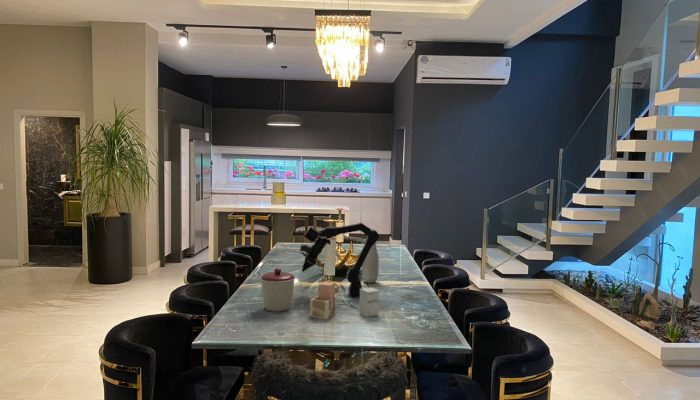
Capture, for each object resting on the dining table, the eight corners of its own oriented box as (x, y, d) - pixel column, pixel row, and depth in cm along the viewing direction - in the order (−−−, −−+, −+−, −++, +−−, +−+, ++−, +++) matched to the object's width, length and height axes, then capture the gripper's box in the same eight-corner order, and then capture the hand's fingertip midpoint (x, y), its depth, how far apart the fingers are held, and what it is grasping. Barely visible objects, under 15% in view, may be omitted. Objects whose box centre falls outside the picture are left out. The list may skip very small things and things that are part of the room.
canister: (293, 302, 266) (293, 263, 264) (297, 313, 248) (297, 271, 247) (259, 304, 262) (259, 265, 260) (260, 315, 244) (260, 273, 243)
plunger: (324, 308, 254) (324, 281, 252) (335, 310, 251) (335, 282, 250) (318, 311, 248) (319, 284, 247) (329, 313, 246) (329, 285, 245)
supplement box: (366, 317, 243) (366, 292, 242) (359, 313, 250) (359, 288, 249) (379, 315, 247) (379, 290, 246) (371, 311, 253) (372, 286, 252)
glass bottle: (371, 279, 318) (372, 236, 316) (381, 283, 310) (381, 238, 307) (358, 281, 313) (359, 237, 310) (368, 285, 304) (368, 239, 302)
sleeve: (317, 312, 251) (317, 295, 250) (334, 314, 247) (334, 297, 246) (310, 316, 244) (310, 299, 243) (327, 319, 240) (327, 301, 239)
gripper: (307, 235, 287) (291, 258, 288) (305, 241, 269) (289, 265, 269) (323, 246, 288) (307, 268, 289) (322, 252, 270) (306, 276, 270)
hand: (302, 269), depth 279 cm, fingers open, 9 cm apart
